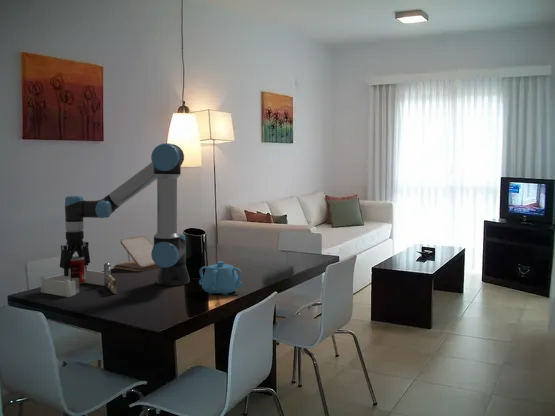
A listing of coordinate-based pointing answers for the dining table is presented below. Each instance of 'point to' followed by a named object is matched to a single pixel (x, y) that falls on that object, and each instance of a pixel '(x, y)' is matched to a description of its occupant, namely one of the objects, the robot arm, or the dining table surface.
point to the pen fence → (68, 283)
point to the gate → (111, 283)
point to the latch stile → (76, 283)
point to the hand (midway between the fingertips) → (75, 281)
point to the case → (138, 254)
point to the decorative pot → (220, 278)
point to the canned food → (77, 268)
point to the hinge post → (106, 272)
